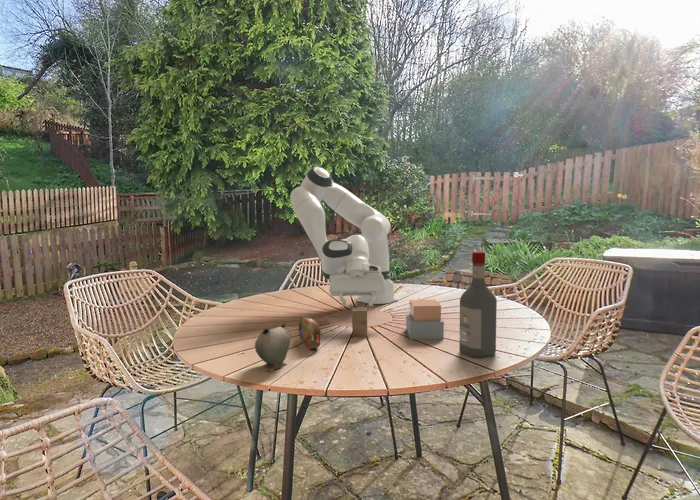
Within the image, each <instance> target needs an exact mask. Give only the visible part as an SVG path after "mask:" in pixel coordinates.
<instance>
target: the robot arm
mask: <svg viewBox="0 0 700 500" xmlns="http://www.w3.org/2000/svg"><path fill="white" fill-rule="evenodd" d="M289 200H290V203H291V204H290V205H291V207H292V209H293V211H294V214H295V215H296V218H297V219H298V221H299V222H300V224H301V225H302V228H303V229H304V231H305V232H306V235H307V236H308V238H309V240H310V242H311V245H312V247H313V249H314V250H315V252H316V256H317V257H318V259H319V262H320V266H321V268H320V272H321V275H322V276H323V277H324V278H325V279H326V280H328V281H329V289H328V290H329V295H330V296H331V297H338V298H339V299H340V300H339V301H341V306H342V307H343V306H347V299H346V298H345V299H344V297H346V296H347V297H354V296H355V297H357V298H356V302H359V303H364V304H368V306H374V305H385V304H390V303H393V302H398V301H399V298H398V297H397V296H396V295H395V285H394V282H393V281H392V280H391V269H390V250H389V243H388V235H389V233H390V231H391V222H390V220H389V219H388V217H386V216H385V215H384V214H383V213H381V212H379V211H377V209H375V208H373V207H371V206H370V205H369V204H367V203H366V202H364V201H363V200H361V199H360V198H359V197H357V196H356V195H355V194H354V193H352V192H351V191H349V190H348V189H347V188H345V187H343V186H342V185H340V184H338V183H336V182H334V180H333V179H332V176H331V174H330V172H329V171H327V170H326V169H325V168H323V167H321V166H313V167H311V168H310V169H309V170H308V172H306V175H305V177H304V178H303V181H302V182H301V184H300V186H297V187H295V188H294V189H293V190H292V191H291V192H290V195H289ZM322 201H323V202H324V203H325V204H326V205H327V206H328V207H330V208H331V210H332V211H334V212H335V213H337V214H338V215H339V216H340V217H342V219H345V220H346V221H347V222H348V223H350V224H352V225H354V226H355V227H357V228H359V229H360V230H361V235H360V234H352V235H350V236H348V237H346V238H342V239H335V238H334V239H329V240H328V238H327V233H326V231H327V230H326V214H325V210H324V208H323V205H322V203H321V202H322Z"/></svg>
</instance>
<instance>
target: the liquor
mask: <svg viewBox="0 0 700 500" xmlns="http://www.w3.org/2000/svg"><path fill="white" fill-rule="evenodd" d="M471 253H472V254H471V263H472V274H471V275H472V278H471V282H470V283H471V284H470V286H469V287H468V288H467V289H466V290H465V291H464V292H463V293H462V294H461V296H460V298H459V351H460V352H461V353H462V354H464V355H466V356H468V357H470V358H474V359H475V358H476V359H484V358H488V357H494V355H495V354H496V350H497V304H498V301H497V300H498V299H497V297H496V295H495V294H494V293H493V292H492V290H491V289H490V288H489V287H488V286H487V283H486V281H485V280H486V277H485V276H486V275H485V269H486V268H485V264H486V252H485V251H473V252H471Z"/></svg>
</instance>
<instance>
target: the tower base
mask: <svg viewBox="0 0 700 500" xmlns="http://www.w3.org/2000/svg"><path fill="white" fill-rule="evenodd" d="M405 315H406V316H405V318H406V319H405V322H406V323H405V324H406V325H405V327H406V329H405V330H406V332H408V333H407V335H408V337H409V340H444V339H445V336H444V335H445V333H444V332H445V331H444V326H445V324H444V323H445V322H444V320H443V318H441V321H413V319H412V317H411V315H410V313H406V314H405Z"/></svg>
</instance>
